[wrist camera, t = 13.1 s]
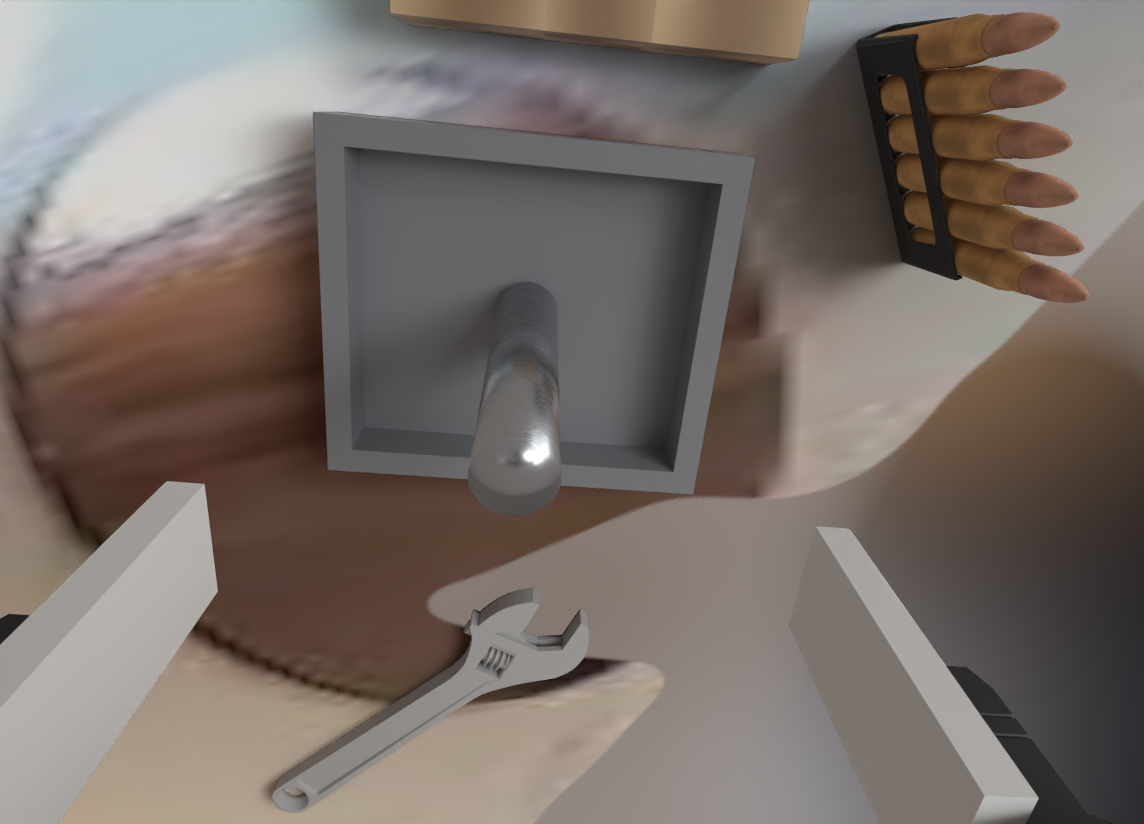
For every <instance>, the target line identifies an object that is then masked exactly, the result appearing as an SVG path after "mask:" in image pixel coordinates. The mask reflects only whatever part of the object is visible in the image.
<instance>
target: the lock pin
mask: <svg viewBox="0 0 1144 824" xmlns="http://www.w3.org/2000/svg"><path fill="white" fill-rule="evenodd" d="M468 483H469V487H470V490H471V492H472V493H473V495H474V496H475V498H476V499H477V500H478V501H479V502H480V503H481V504H482V505H484V506H485V507H487V508H488V509H490V510H492V511H494V512H497V513H500V514H504V515H512V516H519V515H526V514H531V513H534V512H536V511H539V510H541V509H542V508H544V507H546V506H547V505H548V504H549V503H550V502H551V501H552V500H553V499H554V498H555V497H556V495H557V493H558V491H559V489H560V485H561V445H560V399H559V353H558V309H557V304H556V301H555V299H554V297H553V295H552V294H551V293H550V292H549V291H548V290H547V289H546V288H545V287H543V286H541V285H539V284H536V283H532V282H521V283H517V284H514V285H512V286H510V287H509V288H507V289H506V290H505V291H504V292H503V293H502V294H501V296H500V298H499V300H498V303H497V308H496V314H495V319H494V325H493V331H492V337H491V343H490V348H489V354H488V360H487V366H486V372H485V377H484V383H483V389H482V395H481V401H480V406H479V412H478V418H477V424H476V430H475V436H474V441H473V447H472V453H471V459H470V465H469V470H468Z"/></svg>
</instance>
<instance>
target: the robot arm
mask: <svg viewBox="0 0 1144 824" xmlns="http://www.w3.org/2000/svg"><path fill="white" fill-rule="evenodd" d="M217 592H218V590H217V582H216V574H215V566H214V558H213V549H212V541H211V533H210V525H209V517H208V509H207V501H206V493H205V485H204V484H198V483H184V482H169V481H166V482H165V483H164V484H163V485H162V486H161V487H160V488H159V489H158V490H157V491H156V492H155V493H154V494H153V495H152V496H151V497H150V498H149V499H148V500H147V501H146V502H145V503H144V504H143V505H142V506H141V507H140V508H139V509H138V510H137V511H136V512H135V513H134V514H133V515H132V516H131V517H130V518H129V519H128V520H127V521H126V522H125V523H124V524H123V525H122V526H121V527H120V528H119V529H118V530H117V531H116V532H114V533H113V534H112V535H111V536H110V537H109V538H108V539H107V540H106V541H105V542H104V543H103V544H102V545H101V546H100V547H99V548H98V549H97V550H96V551H95V552H94V553H93V554H92V555H91V556H90V557H89V558H88V559H87V560H86V561H85V562H84V563H83V564H82V565H81V566H80V567H79V568H78V569H77V570H76V571H75V572H74V573H73V574H72V575H71V576H70V577H69V578H68V579H67V580H66V581H65V582H64V583H63V584H62V585H61V586H60V587H58V588H57V589H56V590H55V591H54V592H53V593H52V594H51V595H50V596H49V597H48V598H47V599H46V600H45V601H44V602H43V603H42V604H41V605H40V606H39V607H38V608H37V609H36V610H35V611H34V612H33V613H32V614H31V615H16V614H8V615H6V616H4V617H3V618H1V619H0V824H59V823H60V821H61V820H62V818H63V817H64V815H65V814H66V813H67V811H68V810H69V808H70V807H71V805H72V804H73V802H74V801H75V799H76V798H77V796H78V795H79V794H80V792H81V791H82V789H83V788H84V786H85V785H86V783H87V782H88V780H89V779H90V777H91V776H92V775H93V773H94V772H95V770H96V769H97V767H98V766H99V764H100V763H101V761H102V760H103V758H104V757H105V756H106V754H107V753H108V751H109V750H110V748H111V747H112V745H113V744H114V742H115V741H116V739H117V738H118V736H119V735H120V734H121V732H122V731H123V729H124V728H125V726H126V725H127V723H128V722H129V720H130V719H131V717H132V716H133V715H134V713H135V712H136V710H137V709H138V707H139V706H140V704H141V703H142V701H143V700H144V698H145V697H146V696H147V694H148V693H149V691H150V690H151V688H152V687H153V685H154V684H155V682H156V681H157V679H158V678H159V677H160V675H161V674H162V672H163V671H164V669H165V668H166V666H167V665H168V663H169V662H170V660H171V659H172V657H173V656H174V655H175V653H176V652H177V650H178V649H179V647H180V646H181V644H182V643H183V641H184V640H185V638H186V637H187V636H188V634H189V633H190V631H191V630H192V628H193V627H194V625H195V624H196V622H197V621H198V619H199V618H200V617H201V615H202V614H203V612H204V611H205V609H206V608H207V606H208V605H209V603H210V602H211V600H212V599H213V598H214V596H215V595H216V593H217ZM789 627H790V630H791V632H792V634H793V636H794V638H795V641H796V643H797V645H798V647H799V649H800V652H801V654H802V656H803V658H804V660H805V663H806V665H807V667H808V669H809V671H810V673H811V676H812V678H813V680H814V682H815V685H816V687H817V689H818V691H819V693H820V695H821V698H822V700H823V702H824V704H825V706H826V709H827V711H828V713H829V715H830V717H831V720H832V722H833V724H834V726H835V728H836V731H837V733H838V735H839V737H840V739H841V742H842V744H843V746H844V748H845V750H846V753H847V755H848V757H849V759H850V761H851V764H852V766H853V768H854V770H855V772H856V774H857V777H858V779H859V781H860V783H861V785H862V788H863V790H864V792H865V794H866V796H867V799H868V801H869V803H870V805H871V807H872V809H873V812H874V814H875V816H876V818H877V821H878V823H879V824H1113V823H1110V822H1108V821H1106V820H1104V819H1101V818H1098V817H1096V816H1094V815H1088V814H1087V812H1086V811H1085V810H1084V809H1083V807H1082V806H1081V804H1080V803H1079V802H1078V800H1077V799H1076V798H1075V796H1074V795H1073V794H1072V792H1071V791H1070V790H1069V789H1068V787H1067V786H1066V785H1065V783H1064V782H1063V781H1062V779H1061V778H1060V777H1059V775H1058V774H1057V773H1056V771H1055V770H1054V769H1053V767H1052V766H1051V765H1050V763H1049V762H1048V761H1047V759H1046V758H1045V757H1044V755H1043V754H1042V753H1041V752H1040V750H1039V749H1038V747H1037V746H1036V745H1035V744H1034V742H1033V741H1032V740H1031V739H1028V738H1027V733H1026V732H1025V730H1024V729H1023V728H1022V726H1021V725H1020V724H1019V723H1018V721H1017V720H1016V718H1012V713H1011V712H1010V711H1009V709H1008V708H1007V706H1006V705H1005V704H1004V703H1003V701H1002V700H1001V698H1000V697H999V696H998V695H997V693H996V692H995V691H994V689H993V688H991V687H990V686H989V685H988V684H987V683H985V682H984V681H983V680H982V679H980V678H979V677H978V676H977V675H976V674H974V673H973V672H972V671H970V670H969V669H968V668H967V667H956V666H946V665H945V664H944V662H943V661H942V660H941V658H940V657H939V655H938V654H937V653H936V651H935V650H934V648H933V647H932V645H931V644H930V643H929V641H928V640H927V638H926V637H925V636H924V634H923V633H922V631H921V630H920V628H919V627H918V625H917V624H916V623H915V621H914V620H913V618H912V617H911V616H910V614H909V613H908V611H907V610H906V608H905V607H904V606H903V604H902V603H901V601H900V600H899V598H898V597H897V596H896V594H895V593H894V591H893V590H892V588H891V587H890V586H889V584H888V583H887V581H886V580H885V579H884V577H883V576H882V574H881V573H880V571H879V570H878V569H877V567H876V566H875V564H874V563H873V561H872V560H871V559H870V557H869V556H868V554H867V553H866V551H865V550H864V549H863V547H862V546H861V544H860V543H859V542H858V540H857V539H856V537H855V536H854V534H853V533H852V532H851V530H850V529H845V528H831V527H816V528H815V532H814V535H813V539H812V543H811V546H810V550H809V554H808V557H807V561H806V564H805V568H804V572H803V575H802V579H801V583H800V587H799V590H798V594H797V597H796V601H795V605H794V609H793V612H792V616H791V620H790V623H789Z"/></svg>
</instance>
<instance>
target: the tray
mask: <svg viewBox="0 0 1144 824" xmlns="http://www.w3.org/2000/svg"><path fill="white" fill-rule="evenodd" d="M313 125H314V149H315V173H316V197H317V221H318V245H319V268H320V292H321V316H322V340H323V364H324V388H325V412H326V435H327V459H328V470H337V471H352V472H367V473H382V474H397V475H412V476H426V477H441V478H456V479H468V470H469V465H470V459H471V453H472V447H473V441H474V436H475V430H476V424H477V418H478V412H479V406H480V401H481V395H482V389H483V383H484V377H485V372H486V366H487V360H488V354H489V348H490V343H491V337H492V331H493V325H494V319H495V314H496V308H497V303H498V300H499V298H500V296H501V294H502V293H503V292H504V291H505V290H506V289H507V288H509V287H510V286H512V285H514V284H517V283H521V282H532V283H536V284H539V285H541V286H543V287H545V288H546V289H547V290H548V291H549V292H550V293H551V294H552V295H553V297H554V299H555V301H556V304H557V309H558V353H559V399H560V445H561V485H560V486H575V487H590V488H605V489H620V490H635V491H650V492H664V493H679V494H693V491H694V486H695V481H696V475H697V470H698V465H699V459H700V454H701V449H702V443H703V438H704V433H705V427H706V422H707V416H708V411H709V406H710V400H711V395H712V390H713V384H714V379H715V374H716V368H717V363H718V358H719V352H720V347H721V341H722V336H723V331H724V325H725V320H726V315H727V309H728V304H729V299H730V293H731V288H732V282H733V277H734V272H735V266H736V261H737V256H738V250H739V245H740V240H741V234H742V229H743V224H744V218H745V213H746V207H747V202H748V197H749V191H750V186H751V181H752V175H753V170H754V165H755V159H756V157H752V156H748V155H743V154H739V153H733V152H724V151H714V150H704V149H694V148H685V147H675V146H665V145H655V144H646V143H636V142H626V141H617V140H607V139H597V138H587V137H578V136H568V135H558V134H548V133H539V132H529V131H519V130H510V129H500V128H490V127H480V126H471V125H461V124H451V123H442V122H432V121H422V120H412V119H403V118H393V117H383V116H373V115H364V114H354V113H344V112H313Z"/></svg>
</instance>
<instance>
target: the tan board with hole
mask: <svg viewBox="0 0 1144 824" xmlns="http://www.w3.org/2000/svg"><path fill="white" fill-rule="evenodd" d="M808 5H809V0H390V13H391V14H392V15H394V16H396V17H397V18H399V19H400V20H402V21H404V22H405V23H407V24H408V25H417V26H425V27H434V28H443V29H452V30H461V31H470V32H479V33H488V34H497V35H506V36H514V37H523V38H532V39H541V40H550V41H559V42H568V43H577V44H586V45H595V46H604V47H612V48H621V49H630V50H639V51H648V52H657V53H666V54H675V55H684V56H693V57H702V58H710V59H719V60H728V61H737V62H746V63H755V64H764V65H771V64H776V63H781V62H786V61H791V60H796V59H798V56H799V51H800V46H801V40H802V35H803V30H804V25H805V20H806V15H807V10H808Z"/></svg>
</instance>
